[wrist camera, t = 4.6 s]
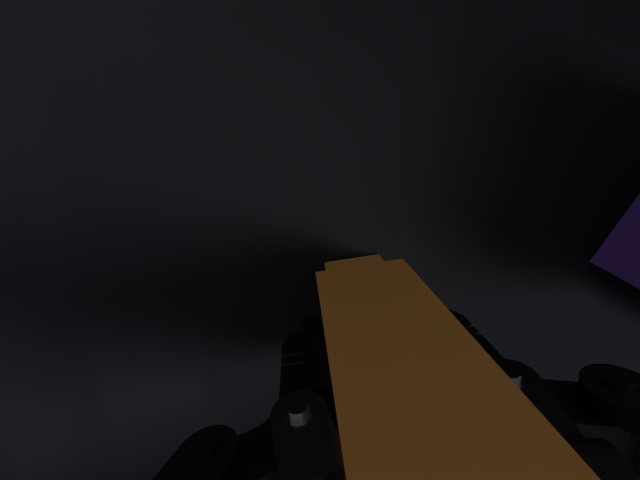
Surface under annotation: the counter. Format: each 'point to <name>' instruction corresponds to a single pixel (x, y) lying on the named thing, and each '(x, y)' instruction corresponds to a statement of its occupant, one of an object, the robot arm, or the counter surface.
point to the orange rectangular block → (425, 387)
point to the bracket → (623, 248)
